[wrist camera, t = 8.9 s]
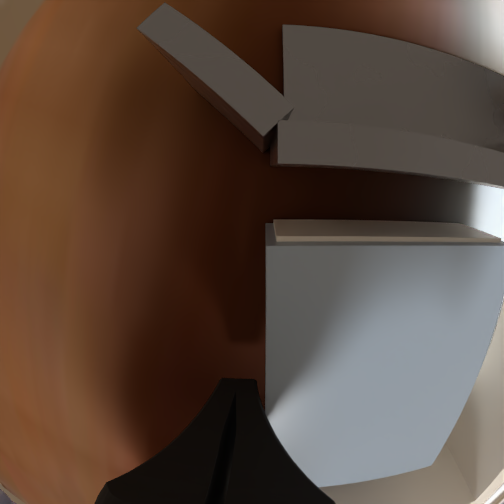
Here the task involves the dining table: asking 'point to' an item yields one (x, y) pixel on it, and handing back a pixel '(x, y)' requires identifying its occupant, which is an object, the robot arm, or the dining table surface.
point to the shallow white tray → (452, 451)
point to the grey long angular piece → (349, 101)
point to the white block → (374, 339)
